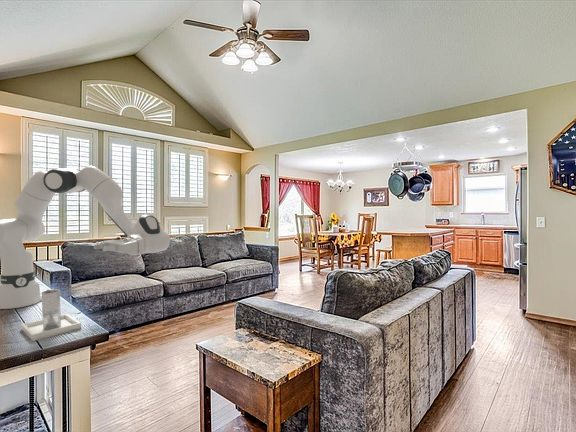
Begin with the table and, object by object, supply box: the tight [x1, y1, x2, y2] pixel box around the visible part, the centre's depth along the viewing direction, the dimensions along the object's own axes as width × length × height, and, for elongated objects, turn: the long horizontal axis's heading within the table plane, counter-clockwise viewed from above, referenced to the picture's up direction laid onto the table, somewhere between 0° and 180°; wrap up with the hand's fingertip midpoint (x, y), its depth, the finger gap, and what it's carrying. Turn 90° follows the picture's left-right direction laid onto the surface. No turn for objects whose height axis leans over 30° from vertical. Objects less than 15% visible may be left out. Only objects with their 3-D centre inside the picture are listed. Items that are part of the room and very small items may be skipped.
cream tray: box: [20, 313, 82, 342], centre depth 116 cm, size 16×14×2 cm
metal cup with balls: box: [41, 288, 62, 331], centre depth 115 cm, size 5×5×14 cm
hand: (98, 248), depth 131 cm, fingers open, 8 cm apart
